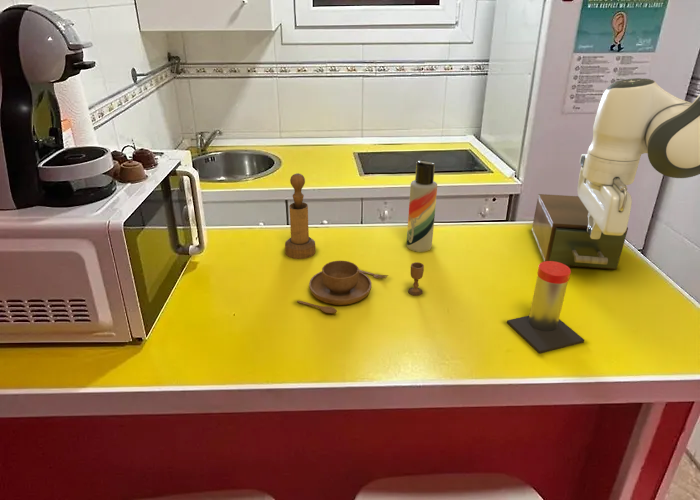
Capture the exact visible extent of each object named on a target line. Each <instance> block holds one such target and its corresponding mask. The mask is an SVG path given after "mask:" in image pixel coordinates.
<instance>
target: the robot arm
mask: <svg viewBox="0 0 700 500" xmlns="http://www.w3.org/2000/svg"><path fill="white" fill-rule="evenodd" d="M596 110H597V111H596V113H595V118H594V123H593V126H592V135H593V136H592V141H591V143H590V145H589V146H588V149H587V153H582V154H581V155H580V158H579V165H580V166H581V167H580V170H579V176H578V182H577V191H576V192H577V196H578V197H579V198H580V200H581V201H582V203H583V204H584V206H585V207H586V209H587V210H588V212H589V213H588V228H587V233H588V234H589V236H590V237H591V239H600V236H601V233H602V232H603V234H605V235H617V236H621V235H623V234H624V233H625V231H626V229H627V227H628V226H629V225H628V224H629V220H630V215H631V210H632V205H633V204H632V203H633V200H632V196H631V193H629V191H628V186H629V185H631V184H633V183H634V182H635V178H636V174H637V170H638V167H639V165H640V164H639V163H640V160H641V157H642V155H643V154H647V158H648V161H649V163H650V165H651V166H652V168H653V170H655V171H657V172H658V173H659V174H661V175H663V176H666V177H668V178H672V179H689V178H693V177H696V176H699V175H700V93H699V94H698V95H697V97H696V98H695V99H694V101H692V102H690V101H687V100H684V99H681V98H679V97H677V96H675V95H673V94H672V93H670V92H669V91H667V90H665V89H664V88H662V87H661V86H659V84H658V83H657V82H656V81H655V80H653V79H651V78H639V77H637V78H635V77H634V78H628V79H621V80H618V81H615V82H613V83H612V84H610V85H608V86H607V88H606V89H605V91H604V92H603V93H602V96H601V98H600V100H599V104H598V107H597V109H596Z"/></svg>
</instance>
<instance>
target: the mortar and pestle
mask: <svg viewBox="0 0 700 500" xmlns="http://www.w3.org/2000/svg"><path fill="white" fill-rule="evenodd" d="M289 183H290V184H291V187H292V188H293V191H294V193H293V194H292V199H293V202H292V203H290V204H289V206H288V208H289V227H290V237H289V238H288V239H287V240H286V241H285V243H284V253H285V255H286V256H287V257H288V258H291V259H296V260H303V259H309V258H311V257H313V256H314V255H315V254H316V251H317V249H316V240H314V239H313V238H312V237H310V232H309V231H310V230H309V205H308V203H306V202H304V195H305V194H304V193H302V190H303V188H304V186H305V183H306V178H305V176H304V175H303V174H302V173H299V172H298V173H297V172H296V173H294V174H292V175H291V177H290V179H289Z"/></svg>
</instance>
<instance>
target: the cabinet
mask: <svg viewBox="0 0 700 500" xmlns="http://www.w3.org/2000/svg"><path fill="white" fill-rule="evenodd" d="M588 213H589V212H588V210H587V209H586V207H585V206H584V204H583V203H582V201H581V200H580V198H579V197H578V195H563V194H546V193H545V194H544V193H538V194H537V199H536V206H535V210H534V216H533V219H532V220H533V222H532V225H531V234H532V236H533V238H534V241H535V244H536V246H537V249H538V251H539V254H540V257H541V259H542V262H545V261H549V256H550V251H551V246H552V242H553V237H554V232H555V228H556V227H564V228H579V229H587V228H588ZM628 230H629V227H628V226H627V229H626V231H625V234H626V235H627V234H628ZM626 238H627V236H626V237H625V240H624V242H625V241H626ZM624 244H625V243H624ZM624 244H623V247H622V249H623V248H624ZM622 251H623V250H622ZM622 251H621V254H620V256H621V255H622V253H623V252H622ZM620 259H621V257H620V258H619V261H618V263H619V262H620ZM566 266H568V267H576V268H589V269H601V270H602V269H605V270H617V269H618V266H619V264H618V265H617V268H616V269H615V268H601V267H587V266H574V265H566Z"/></svg>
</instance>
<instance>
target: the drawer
mask: <svg viewBox="0 0 700 500" xmlns="http://www.w3.org/2000/svg"><path fill="white" fill-rule="evenodd" d="M625 237H626V238H627V234H625V233H624V234H623V235H621V236H617V235H605V234H603V232H602V233H601V236H600V239H591V237H590V236H589V234H588V233H587V229H579V228H564V227H556V228H555V232H554V237H553V242H552V246H551V251H550V256H549V261H555V262H559V263H562V264H565V265H574V266H573V267H575V266H587V267H586V268H589V267H601V268H600V269H602V268H615V269H614V270H617V269H618V266H619V262H620V259H621V255H622V252H621V251H623V248H624V245H623V244H625V241H626V238H625ZM624 240H625V241H624ZM622 247H623V248H622ZM620 254H621V255H620ZM619 258H620V259H619ZM618 261H619V262H618ZM617 265H618V266H617ZM616 268H617V269H616Z"/></svg>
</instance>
